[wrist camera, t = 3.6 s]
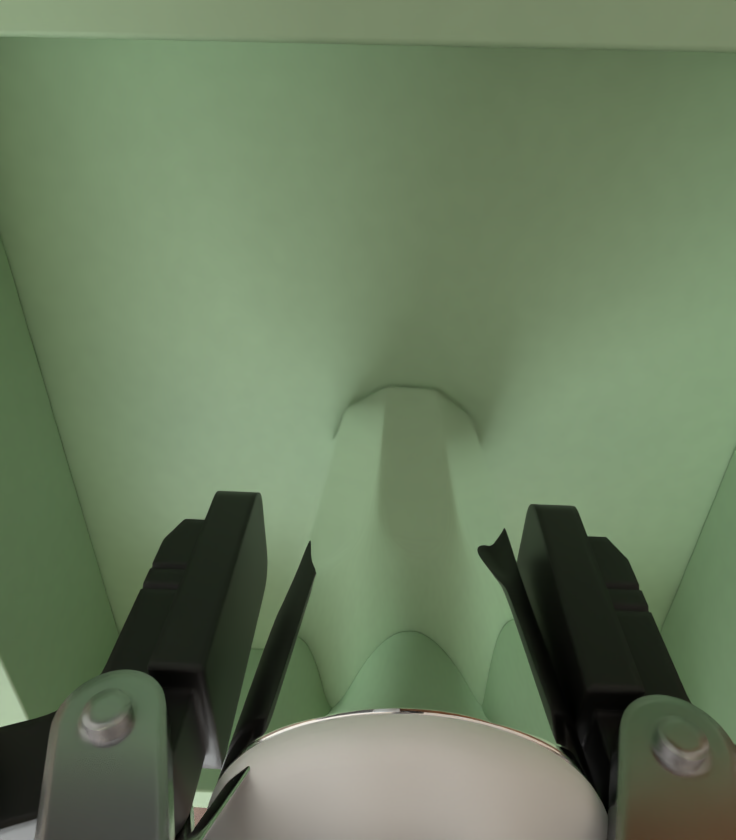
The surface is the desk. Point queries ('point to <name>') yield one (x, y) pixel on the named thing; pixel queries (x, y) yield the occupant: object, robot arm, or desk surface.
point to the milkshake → (405, 660)
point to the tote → (360, 288)
